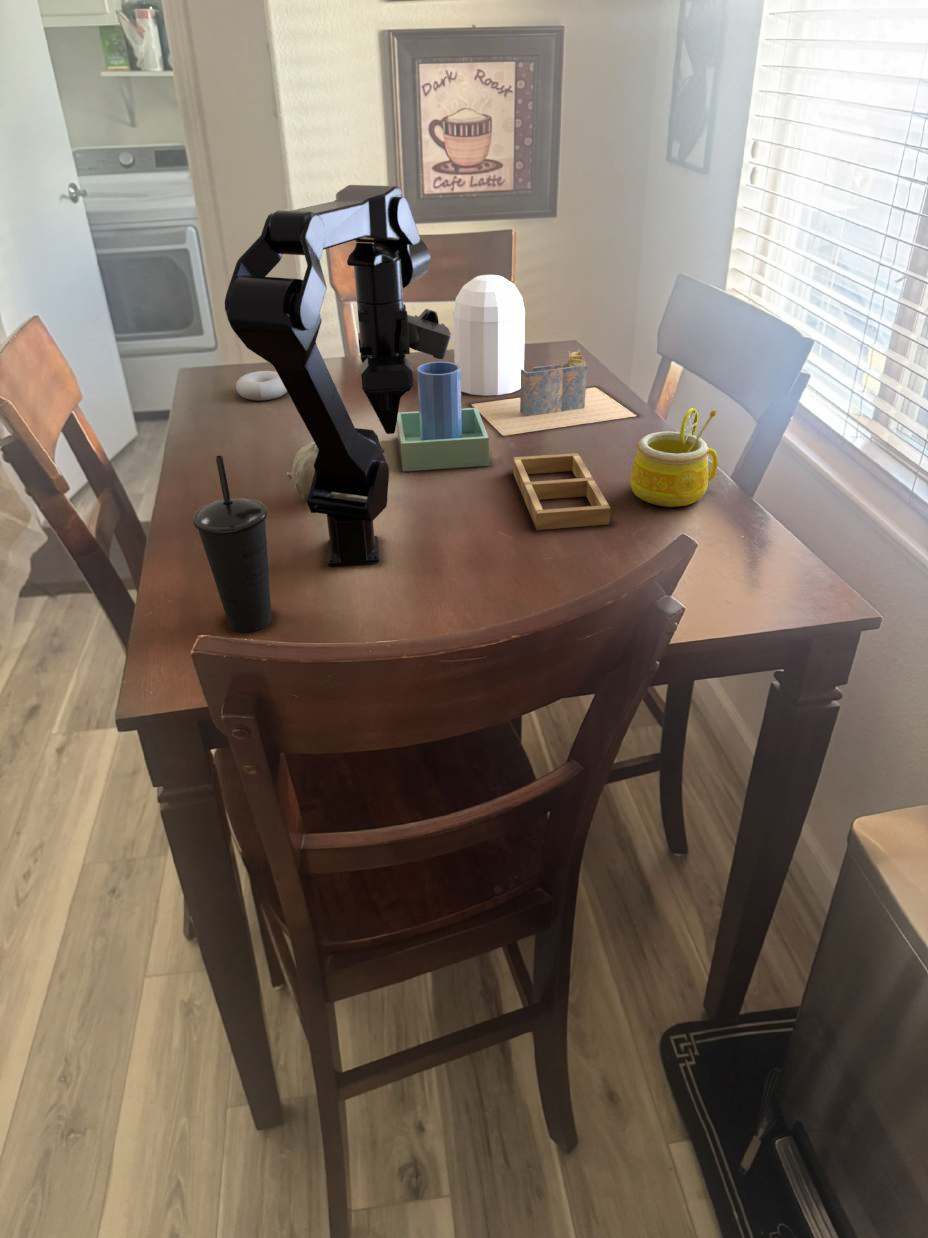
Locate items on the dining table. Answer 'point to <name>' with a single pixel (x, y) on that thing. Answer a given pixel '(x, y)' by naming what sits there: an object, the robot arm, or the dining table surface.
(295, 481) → the garlic bulb
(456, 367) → the tumbler
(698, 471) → the mug
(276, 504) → the dining table surface
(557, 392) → the architectural model on board
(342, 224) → the robot arm
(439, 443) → the basin
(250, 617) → the drinking cup
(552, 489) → the wooden rectangular frame
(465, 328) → the container
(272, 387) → the donut
